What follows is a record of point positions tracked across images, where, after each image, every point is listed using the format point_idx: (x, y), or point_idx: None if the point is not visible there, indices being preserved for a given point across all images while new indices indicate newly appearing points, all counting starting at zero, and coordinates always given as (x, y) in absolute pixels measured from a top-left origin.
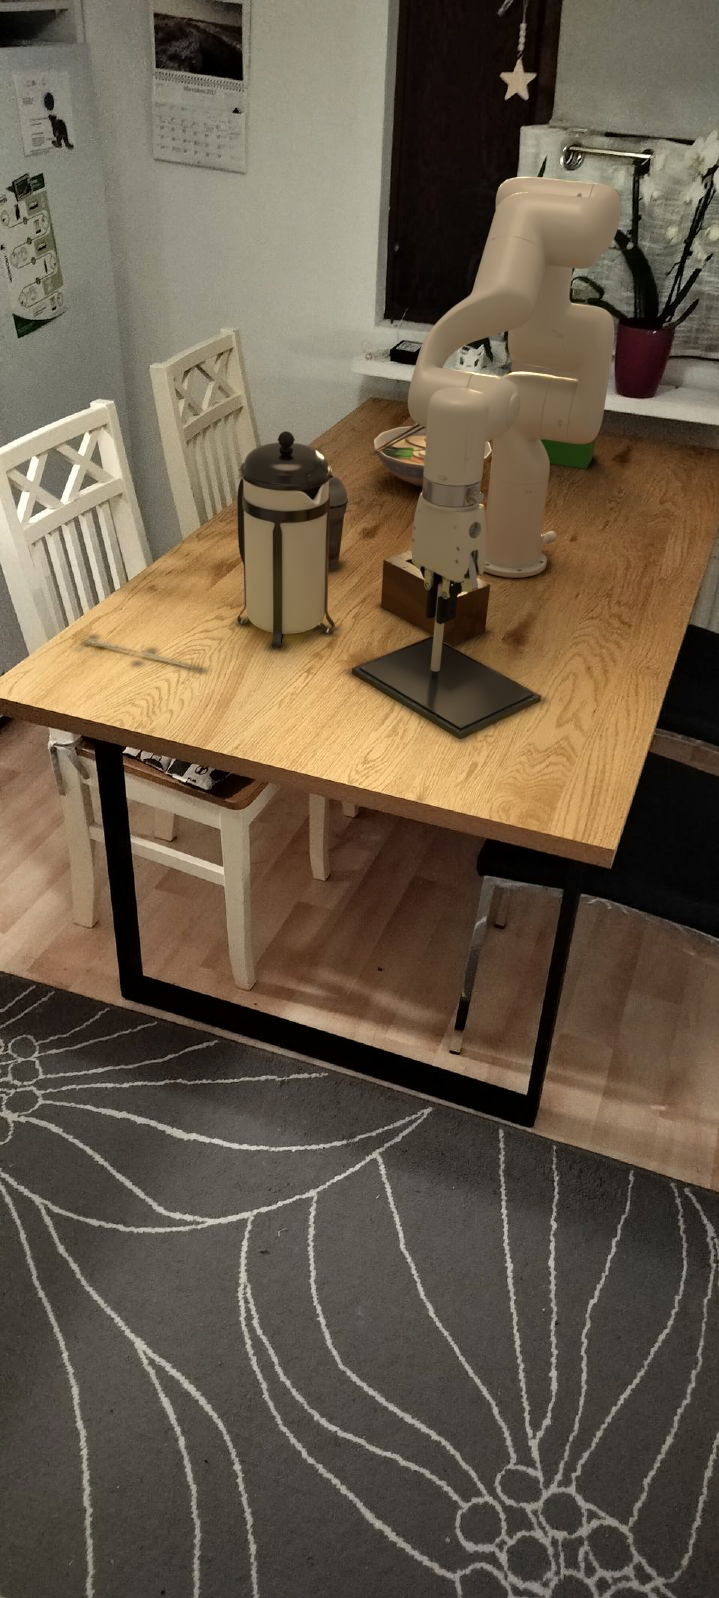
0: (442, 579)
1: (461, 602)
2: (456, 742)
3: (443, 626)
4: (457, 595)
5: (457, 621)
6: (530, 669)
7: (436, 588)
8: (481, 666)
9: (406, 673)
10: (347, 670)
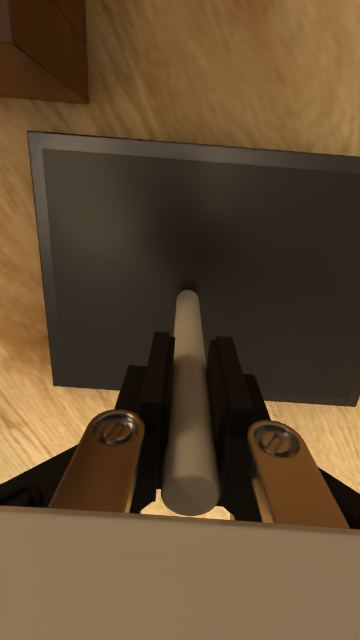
0: (138, 464)
1: (27, 20)
2: (350, 410)
3: (204, 354)
4: (248, 394)
5: (61, 68)
6: (335, 26)
7: (156, 480)
8: (240, 168)
9: (139, 330)
10: (44, 377)
